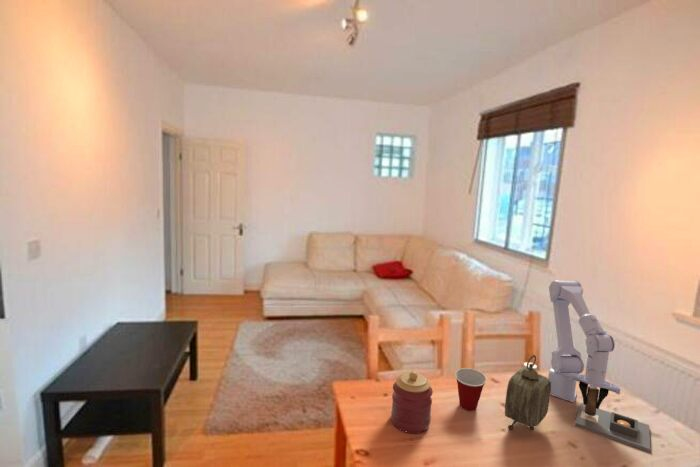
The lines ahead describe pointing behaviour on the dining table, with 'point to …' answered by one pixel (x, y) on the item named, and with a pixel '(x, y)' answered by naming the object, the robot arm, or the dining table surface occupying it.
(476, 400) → the plastic cup
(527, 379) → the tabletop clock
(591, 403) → the brown cylinder
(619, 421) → the breaker button
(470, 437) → the dining table surface
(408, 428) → the canister
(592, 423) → the switch panel
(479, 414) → the dining table surface
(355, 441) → the dining table surface
